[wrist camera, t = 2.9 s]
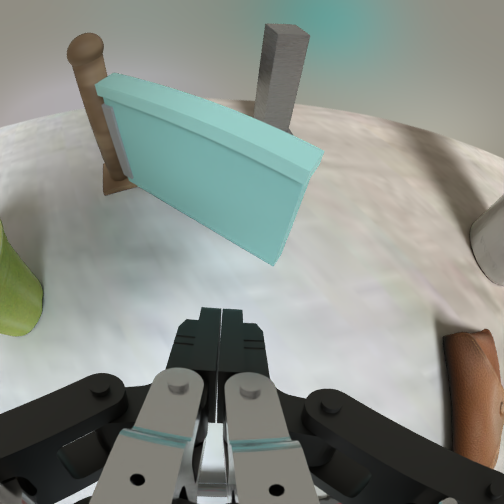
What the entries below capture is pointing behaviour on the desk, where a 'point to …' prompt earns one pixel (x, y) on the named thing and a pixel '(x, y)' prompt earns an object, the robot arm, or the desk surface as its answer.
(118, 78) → the gate
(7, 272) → the plant pot
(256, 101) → the latch post
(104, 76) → the hinge post
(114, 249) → the desk surface
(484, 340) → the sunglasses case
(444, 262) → the desk surface
